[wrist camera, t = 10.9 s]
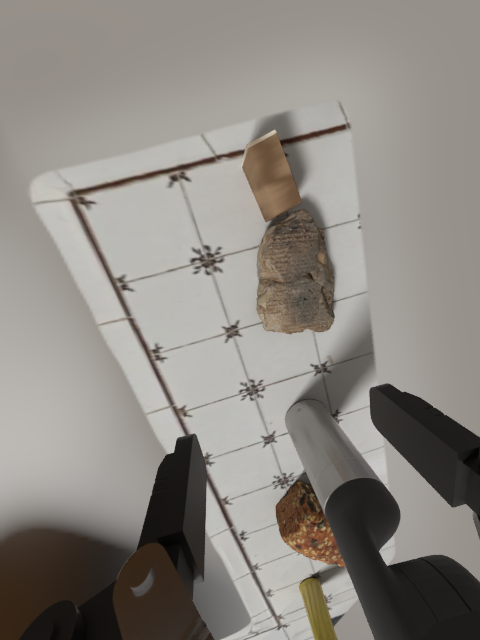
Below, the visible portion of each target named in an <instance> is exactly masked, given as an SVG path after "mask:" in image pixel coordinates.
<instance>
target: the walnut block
mask: <svg viewBox="0 0 480 640" xmlns="http://www.w3.org/2000/svg"><path fill="white" fill-rule="evenodd" d="M241 166H242V168H243V170H244V173H245V175H246V177H247V180H248V182H249V184H250V187H251V189H252V192H253V194H254V196H255V199H256V201H257V203H258V206H259V208H260V210H261V213H262V215H263V217H264V220H265V222H268V221H270V220H271V219H273V218H275V217H277V216H279V215H281V214H283V213H285V212H287V211H288V210H290V209H291V208H293V207H295V206H296V205H298V204H299V203H301V202H302V200H301V198H300V195H299V192H298V189H297V187H296V184H295V181H294V179H293V176H292V173H291V171H290V168H289V165H288V162H287V160H286V157H285V154H284V152H283V149H282V146H281V143H280V141H279V138H278V135H277V133H276V130H273V131H271V132H269V133H268V134H266V135H264V136H262V137H260V138H258V139H257V140H255V141H253V142H251V143H249V144H247V146H246V149H245V152H244V156H243V159H242V162H241Z"/></svg>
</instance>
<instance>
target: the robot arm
mask: <svg viewBox="0 0 480 640" xmlns="http://www.w3.org/2000/svg"><path fill="white" fill-rule="evenodd" d="M369 393H370V414H371V419H372V422H373V424H374V426H375V427H376V429H377V430H378V431H379V432H380V433H381V434H382V435H383V436H384V437H385V438H386V439H387V440H388V441H389V442H390V443H391V444H392V446H394V447H395V449H396V450H397V451H398V452H399V453H400V454H401V455H402V456H403V457H404V458H405V459H406V460H407V461H408V462H409V463H410V464H411V465H412V466H413V467H414V468H415V469H416V470H417V471H418V472H419V473H420V475H421V476H422V477H423V478H425V480H426V481H427V482H428V483H429V484H430V485H431V486H432V487H433V488H434V489H435V490H436V491H437V492H438V493H439V494H440V495H441V496H442V497H443V498H444V499H445V500H446V501H447V503H448V504H449V505H451V507H457V506H460V505H463V504H467V505H468V506H469V507H470V508H471V509H472V510H473V520H474V523H475V526H476V529H477V532H478V535H479V538H480V437H478V436H477V435H475V434H474V433H472V432H471V431H469V430H468V429H466V428H465V427H463V426H462V425H460V424H459V423H457V422H456V421H454V420H453V419H451V418H450V417H448V416H447V415H444V414H443V413H442V412H441V411H439V410H438V409H436V408H433V406H432V405H430V404H429V403H427V402H426V401H424V400H423V399H421V398H419V397H417V396H415V395H412V394H409V393H407V392H401V391H400V390H398V389H397V388H395V387H394V386H392V385H391V384H383V385H379V386H376V387H372V388H370V391H369ZM285 424H286V428H287V430H288V432H289V434H290V437H291V439H292V441H293V444H294V446H295V448H296V451H297V453H298V455H299V458H300V460H301V462H302V464H303V467H304V469H305V471H306V473H307V476H308V478H309V480H310V483H311V485H312V487H313V489H314V492H315V494H316V496H317V498H318V501H319V503H320V505H321V507H322V510H323V512H324V514H325V517H326V519H327V521H328V523H329V526H330V528H331V530H332V533H333V536H334V538H335V541H336V544H337V546H338V549H339V551H340V554H341V556H342V559H343V561H344V564H345V566H346V568H347V571H348V573H349V575H350V578H351V580H352V583H353V585H354V588H355V590H356V593H357V595H358V598H359V600H360V603H361V605H362V608H363V610H364V613H365V616H366V618H367V621H368V623H369V626H370V628H371V631H372V634H373V636H374V639H375V640H480V582H479V581H478V580H477V579H476V578H475V577H474V576H473V575H472V574H471V573H470V572H469V571H468V570H467V569H465V568H464V567H463V566H462V565H461V564H459V563H458V562H456V561H455V560H453V559H451V558H449V557H447V556H444V555H431V556H425V557H421V558H417V559H413V560H409V561H405V562H401V563H397V564H393V565H389V566H387V565H386V564H385V562H384V561H383V559H382V557H381V555H380V553H379V550H380V549H381V548H382V546H383V545H384V544H385V543H386V542H387V541H388V540H389V539H390V538H391V537H392V536H393V534H394V533H395V532H396V530H397V527H398V525H399V522H400V510H399V506H398V504H397V502H396V501H395V499H394V498H393V496H392V495H391V493H390V492H389V491H388V489H387V488H386V487H385V486H384V484H383V483H382V482H381V480H380V479H379V478H378V476H377V475H376V474H375V472H374V471H373V470H372V468H371V467H370V466H369V465H368V463H367V462H366V461H365V459H364V458H363V457H362V455H361V454H360V453H359V451H358V450H357V449H356V447H355V446H354V445H353V443H352V442H351V441H350V440H349V438H348V437H347V436H346V434H345V433H344V432H343V430H342V429H341V428H340V426H339V425H338V424H337V422H336V421H335V420H334V418H333V417H332V416H331V414H330V413H329V412H328V411H327V409H326V408H325V407H324V405H323V404H322V403H320V402H319V401H316V400H310V399H308V400H303V401H300V402H298V403H296V404H295V405H293V406H292V407H291V408H290V409H289V411H288V412H287V414H286V418H285ZM206 482H207V473H206V464H205V460H204V457H203V454H202V451H201V448H200V445H199V442H198V439H197V436H196V434H191V435H187V436H183V437H179V438H177V441H176V446H175V451H174V453H171V454H167V455H166V456H165V458H164V459H163V461H162V463H161V464H160V466H159V468H158V471H157V475H156V479H155V484H154V486H153V491H152V496H151V498H150V502H149V506H148V510H147V514H146V517H145V521H144V525H143V529H142V533H141V536H140V541H139V544H138V547H137V550H136V551H135V552H134V553H133V554H132V555H131V556H130V558H129V559H128V560H127V562H126V563H125V564H124V566H123V567H122V569H121V571H120V573H119V575H118V577H117V579H116V580H115V581H114V582H113V583H112V584H110V585H109V586H108V587H106V588H105V589H103V590H102V591H101V592H99V593H98V594H96V595H95V596H94V597H92V598H90V599H89V600H88V601H86V602H85V603H83V604H82V605H80V606H79V607H78V608H77V607H76V606H75V604H74V603H73V602H72V601H68V600H63V601H59V602H57V603H55V604H53V605H51V606H50V607H48V608H47V609H46V610H45V611H43V612H42V613H41V614H40V615H39V616H38V617H37V618H36V619H35V620H34V621H33V622H32V623H31V624H30V626H29V627H28V628H27V629H26V630H25V632H24V633H23V635H22V636H21V637H20V639H19V640H214V638H213V636H212V634H211V632H210V630H209V629H208V627H207V625H206V623H205V622H204V621H203V619H202V617H201V616H200V614H199V612H198V610H197V608H196V606H195V604H194V602H193V584H197V583H200V582H203V581H204V555H205V519H206Z"/></svg>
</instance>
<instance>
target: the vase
mask: <svg viewBox="0 0 480 640" xmlns="http://www.w3.org/2000/svg"><path fill="white" fill-rule="evenodd" d="M299 589H300V592H301V595H302V598H303V601H304V605H305V608H306V612H307V615H308V618H309V622H310V625H311V629H312V632H313V635H314V639H315V640H338V639H337V637H336V634H335V630H334V627H333V624H332V621H331V618H330V615H329V611H328V608H327V604H326V601H325V597H324V594H323V591H322V588H321V584H320V581H319V580H318V579H317V578H308V579H306V580H304V581H303V582H302V583H301V584H300V587H299Z"/></svg>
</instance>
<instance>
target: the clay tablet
mask: <svg viewBox="0 0 480 640" xmlns="http://www.w3.org/2000/svg"><path fill="white" fill-rule="evenodd" d="M257 268H258V279H259V285H258V290H257V295H258V298H257V313H258V315H259V318H260V319H261V320H262V322H263V328H264V329H265V330H266V331H273V332H283V333H287V334H292V333H296V332H303V330H305V329H310V330H314V331H315V332H324V331H327V330H329V329H330V327H331V325H332V324H333V321H334V318H335V316H334V312H333V310H332V309H331V307H332V300H333V297H334V277H333V276H332V272H333V271H332V269H331V267H330V266H329V264H328V259H327V255H326V253H325V242H324V236H323V231H322V229H320V228H318V227H316V225H315V223H314V220H313V218H312V217H311V216H310V215H309V213H308V212H307V211H305V210H304V209H302V210H298V211H296V212H292V213H291V214H290V215H288V216H287V218H286V219H284V220H281V221H278V222H277V223H276V225H274V226H272V227H270V228H269V229H268V230H267V232H266V233H265V235H264V238H263V242H262V244H260V247H259V251H258V256H257Z"/></svg>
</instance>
